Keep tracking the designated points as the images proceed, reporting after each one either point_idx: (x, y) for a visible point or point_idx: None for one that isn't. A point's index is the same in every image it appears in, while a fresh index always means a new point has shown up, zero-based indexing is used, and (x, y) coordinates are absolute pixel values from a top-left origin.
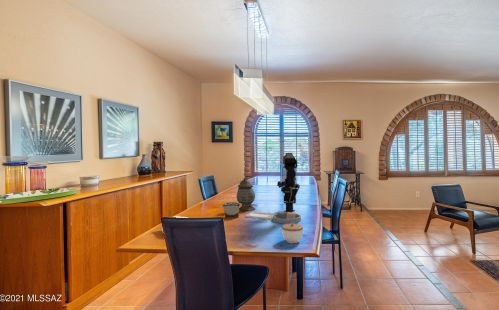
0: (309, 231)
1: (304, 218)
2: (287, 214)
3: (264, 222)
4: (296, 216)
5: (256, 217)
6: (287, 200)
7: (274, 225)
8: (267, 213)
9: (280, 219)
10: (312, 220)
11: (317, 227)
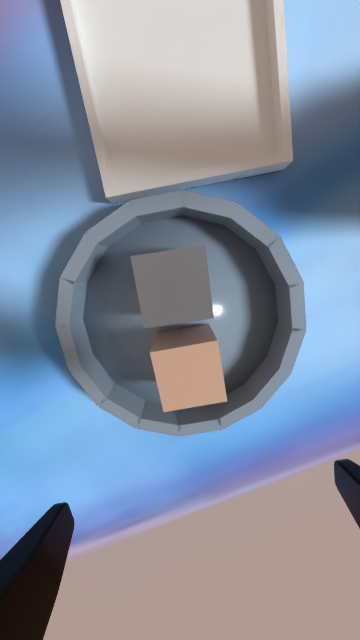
0: None
1: (298, 391)
2: (152, 357)
3: (21, 200)
4: (272, 355)
5: (68, 20)
6: (27, 543)
7: (8, 319)
8: (271, 19)
9: (61, 337)
10: (271, 453)
11: (139, 531)
